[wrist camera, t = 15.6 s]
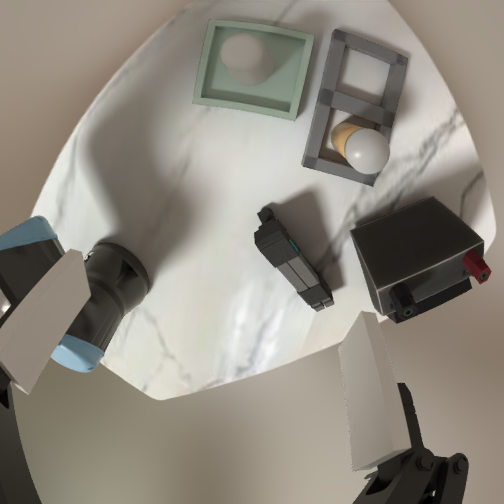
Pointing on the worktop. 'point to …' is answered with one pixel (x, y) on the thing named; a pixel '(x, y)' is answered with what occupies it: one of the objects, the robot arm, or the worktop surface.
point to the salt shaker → (247, 59)
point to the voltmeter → (418, 258)
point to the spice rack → (349, 135)
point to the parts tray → (267, 93)
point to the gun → (291, 261)
